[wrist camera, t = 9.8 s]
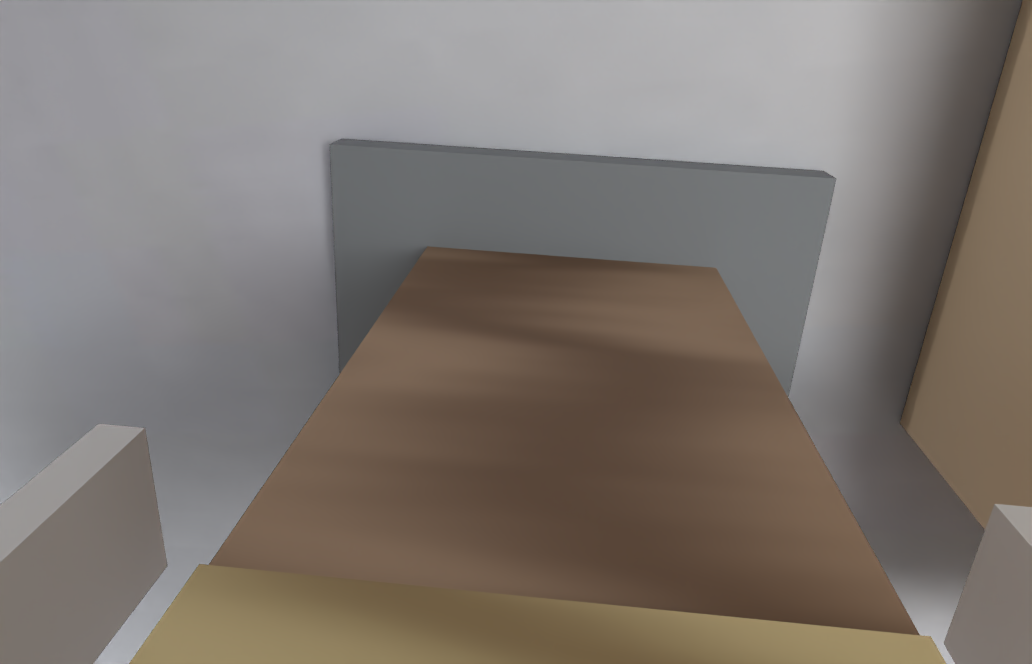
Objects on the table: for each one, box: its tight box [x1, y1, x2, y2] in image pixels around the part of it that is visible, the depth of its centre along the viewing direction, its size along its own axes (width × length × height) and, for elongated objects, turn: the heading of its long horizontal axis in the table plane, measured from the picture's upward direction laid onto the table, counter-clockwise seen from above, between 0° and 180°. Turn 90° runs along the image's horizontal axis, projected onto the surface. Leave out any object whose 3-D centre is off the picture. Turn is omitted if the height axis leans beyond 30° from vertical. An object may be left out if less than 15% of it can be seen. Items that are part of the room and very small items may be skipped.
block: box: [129, 246, 946, 664], centre depth 11 cm, size 6×6×12 cm
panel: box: [330, 139, 836, 396], centre depth 17 cm, size 10×10×1 cm
